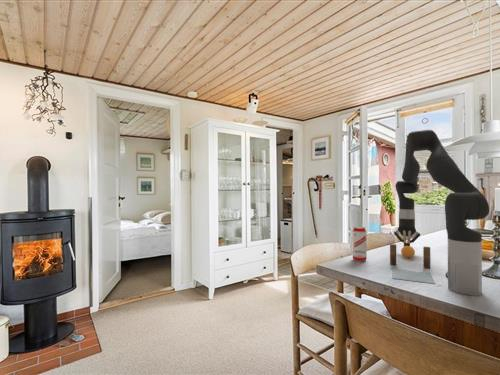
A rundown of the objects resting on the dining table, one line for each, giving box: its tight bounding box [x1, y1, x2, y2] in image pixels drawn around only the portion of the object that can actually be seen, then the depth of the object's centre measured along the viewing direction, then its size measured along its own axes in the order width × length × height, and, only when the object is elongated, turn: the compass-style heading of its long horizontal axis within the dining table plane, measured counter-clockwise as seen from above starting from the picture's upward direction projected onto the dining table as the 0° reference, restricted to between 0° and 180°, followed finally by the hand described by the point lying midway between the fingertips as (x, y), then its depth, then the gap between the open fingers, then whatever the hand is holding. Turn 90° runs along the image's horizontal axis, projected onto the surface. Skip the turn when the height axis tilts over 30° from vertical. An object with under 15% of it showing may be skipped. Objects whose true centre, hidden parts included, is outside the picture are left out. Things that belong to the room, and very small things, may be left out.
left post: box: [389, 243, 397, 266], centre depth 128 cm, size 3×3×9 cm
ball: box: [400, 245, 416, 259], centre depth 139 cm, size 6×6×6 cm
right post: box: [422, 246, 431, 270], centre depth 122 cm, size 3×3×9 cm
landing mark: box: [391, 268, 436, 285], centre depth 110 cm, size 14×14×1 cm
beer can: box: [352, 226, 368, 263], centre depth 134 cm, size 6×6×16 cm
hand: (406, 249), depth 149 cm, fingers closed
